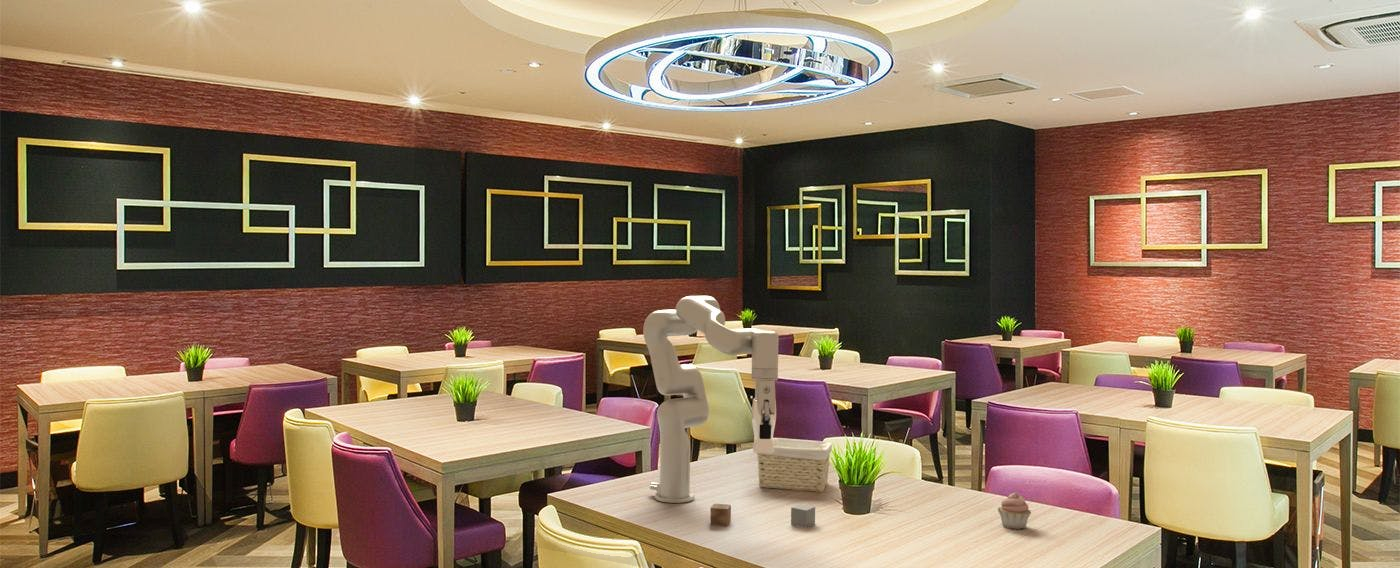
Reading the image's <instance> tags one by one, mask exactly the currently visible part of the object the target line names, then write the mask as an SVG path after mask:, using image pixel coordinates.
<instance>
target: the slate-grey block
mask: <svg viewBox="0 0 1400 568" xmlns="http://www.w3.org/2000/svg"><path fill="white" fill-rule="evenodd" d="M815 524H816V506H813V505H807V504H801V503H799V504H797V505H794V506H791V510H790V525H792V526H795V527H801V528H805V529H806V528H809V527H811V526H814V525H815Z"/></svg>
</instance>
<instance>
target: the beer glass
mask: <svg viewBox="0 0 1400 568" xmlns="http://www.w3.org/2000/svg"><path fill="white" fill-rule="evenodd" d="M776 400H777V399H776V398H775V411H776V413H775V415H773V414H774V413H771V410H770V417H771V439H760V438H759V432H760V425H761V416H760V414H758V408H757V400H755V397H753V398H752V406H751V407H752V408H751V422H752V429H753V436H754V437H753V439H754V440H753V447H752V452H754V453H756V454H757V453H763V454H767V453H773V452H774V447H773V438H774V431H775V428H776V421H777V404H776V403H777V401H776ZM762 414H765V412H764V410H763V411H762ZM763 417H764V416H763Z"/></svg>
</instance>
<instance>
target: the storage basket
mask: <svg viewBox="0 0 1400 568" xmlns="http://www.w3.org/2000/svg"><path fill="white" fill-rule="evenodd" d="M832 445H833V444H832V442H831V441H821V440H809V439H796V438H786V437H785V438H783V437H773V447H774V452H773V453H767V454H763V453H756V454H757V462H758V463H757V464H758V465H757V466H758V467H757V468H758V471H757V473H758V482H759V483H758V485H759V487H761V488H767V489H771V488H772V489H779V490H792V491H796V490H797V492H799V491H800V492H803V491H804V492H806V491H807V492H812V491H816V493H817V492H818V493H820V492H821V493H823V492H824V491H825V489H826V487H827V484H828V478H829V474H828V473H829V467H830V456H831V452H832ZM825 486H826V487H825Z"/></svg>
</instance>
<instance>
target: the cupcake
mask: <svg viewBox="0 0 1400 568" xmlns="http://www.w3.org/2000/svg"><path fill="white" fill-rule="evenodd" d="M1029 508H1030V507H1029V505H1028V503H1027V502H1026V501H1025V499H1024V498H1023V497H1022V496H1021V494H1018V493H1017V492H1013V493H1010V494H1009V495H1008V496H1007V498H1004V499H1002V501H1001V506H999V507H997V511H998V515H1000V520H1001V525H1002V527H1004V526H1005V527H1004V528H1006V527H1008V528H1007V529H1010V528H1015V529H1014V530H1021V529H1020V528H1024V529H1025V528H1026V527H1027V523H1028V520H1029V518H1030V516H1031V515H1032V510H1030V509H1029Z"/></svg>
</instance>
